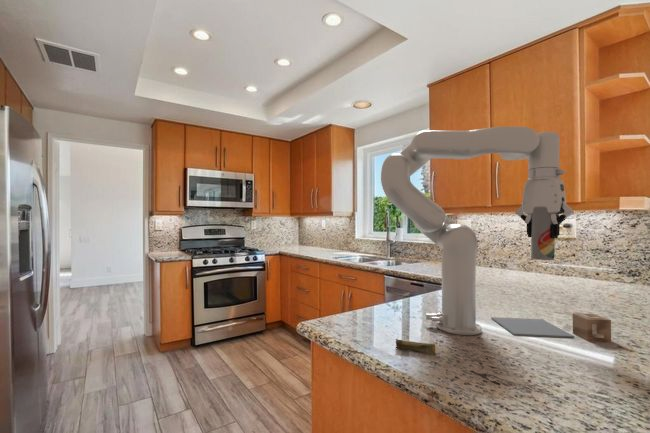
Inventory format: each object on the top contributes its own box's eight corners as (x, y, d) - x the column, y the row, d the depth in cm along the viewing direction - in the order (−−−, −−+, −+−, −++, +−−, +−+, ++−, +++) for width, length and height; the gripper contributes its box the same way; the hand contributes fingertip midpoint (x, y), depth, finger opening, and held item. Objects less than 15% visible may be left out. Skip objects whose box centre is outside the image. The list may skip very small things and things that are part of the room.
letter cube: (587, 341, 87) (587, 319, 87) (572, 333, 93) (572, 312, 94) (611, 342, 87) (611, 319, 87) (595, 334, 93) (594, 313, 93)
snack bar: (435, 355, 78) (435, 342, 78) (435, 357, 77) (435, 344, 77) (395, 349, 81) (395, 337, 81) (394, 351, 80) (394, 339, 80)
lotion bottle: (557, 260, 90) (560, 189, 90) (534, 259, 91) (537, 189, 91) (549, 258, 95) (551, 191, 96) (527, 257, 97) (529, 191, 97)
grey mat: (513, 335, 91) (513, 333, 91) (491, 318, 107) (491, 317, 107) (574, 338, 90) (574, 336, 90) (542, 320, 106) (542, 319, 106)
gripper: (584, 173, 89) (583, 239, 88) (519, 179, 103) (518, 236, 103) (572, 170, 85) (571, 239, 84) (506, 177, 99) (505, 236, 99)
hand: (542, 237), depth 94 cm, fingers closed on lotion bottle, 5 cm apart
